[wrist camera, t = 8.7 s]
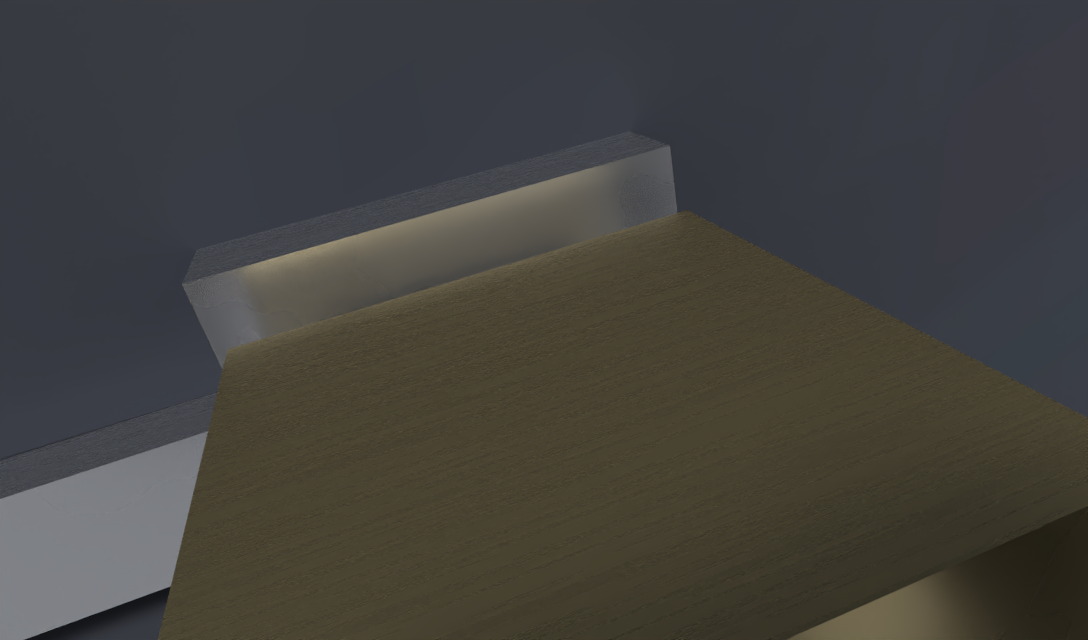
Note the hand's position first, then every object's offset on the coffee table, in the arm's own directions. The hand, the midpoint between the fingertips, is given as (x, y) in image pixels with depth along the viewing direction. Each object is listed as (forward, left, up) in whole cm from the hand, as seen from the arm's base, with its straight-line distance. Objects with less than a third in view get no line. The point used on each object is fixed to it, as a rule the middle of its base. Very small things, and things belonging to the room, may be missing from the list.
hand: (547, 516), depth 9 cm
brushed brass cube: (0, 0, -1) cm, 1 cm away
